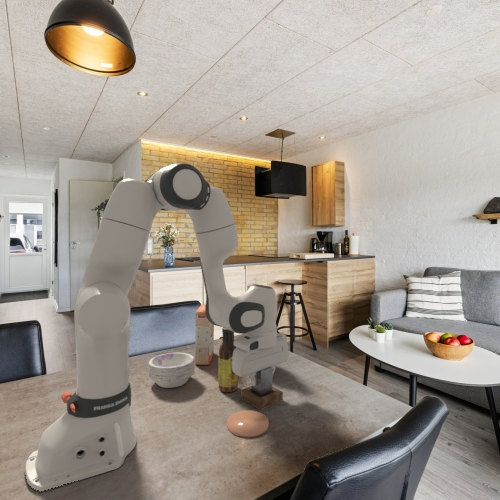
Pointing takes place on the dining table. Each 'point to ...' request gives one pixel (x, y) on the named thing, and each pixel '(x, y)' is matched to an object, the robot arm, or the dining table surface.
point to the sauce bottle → (227, 363)
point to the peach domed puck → (247, 423)
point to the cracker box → (203, 338)
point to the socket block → (261, 401)
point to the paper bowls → (171, 369)
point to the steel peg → (263, 382)
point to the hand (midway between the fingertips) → (261, 382)
